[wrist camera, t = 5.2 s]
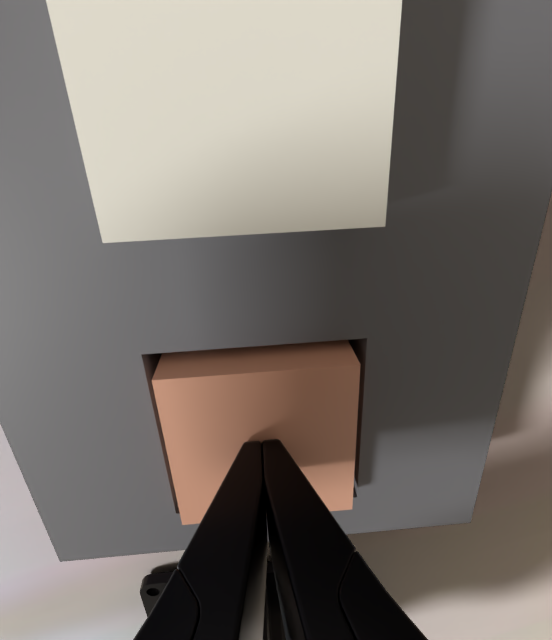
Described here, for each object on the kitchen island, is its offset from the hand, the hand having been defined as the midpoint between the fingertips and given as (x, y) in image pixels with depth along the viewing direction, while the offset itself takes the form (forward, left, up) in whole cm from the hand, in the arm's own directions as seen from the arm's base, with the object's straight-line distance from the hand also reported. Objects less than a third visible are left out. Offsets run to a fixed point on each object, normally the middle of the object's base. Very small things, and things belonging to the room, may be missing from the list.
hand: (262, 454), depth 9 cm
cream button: (+8, 0, -2) cm, 8 cm away
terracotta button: (0, 0, -3) cm, 3 cm away
